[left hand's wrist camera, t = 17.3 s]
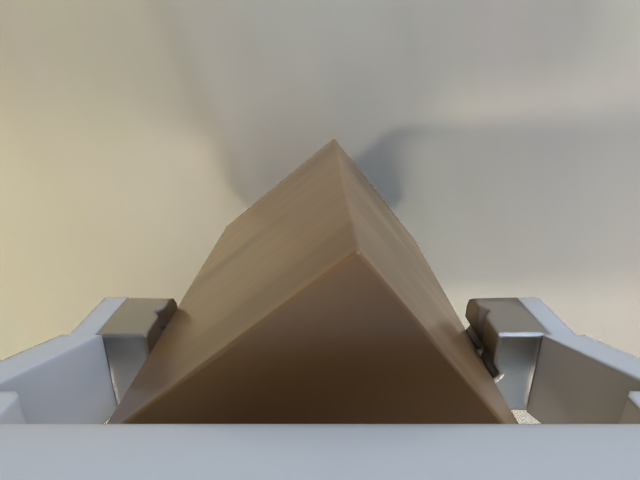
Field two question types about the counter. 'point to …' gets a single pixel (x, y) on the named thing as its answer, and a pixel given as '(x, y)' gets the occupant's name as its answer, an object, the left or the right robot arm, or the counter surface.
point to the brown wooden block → (315, 321)
